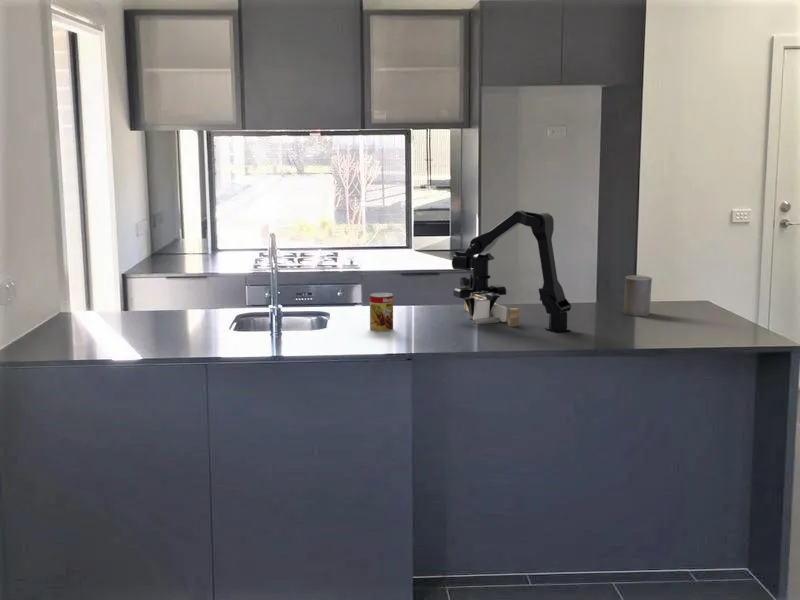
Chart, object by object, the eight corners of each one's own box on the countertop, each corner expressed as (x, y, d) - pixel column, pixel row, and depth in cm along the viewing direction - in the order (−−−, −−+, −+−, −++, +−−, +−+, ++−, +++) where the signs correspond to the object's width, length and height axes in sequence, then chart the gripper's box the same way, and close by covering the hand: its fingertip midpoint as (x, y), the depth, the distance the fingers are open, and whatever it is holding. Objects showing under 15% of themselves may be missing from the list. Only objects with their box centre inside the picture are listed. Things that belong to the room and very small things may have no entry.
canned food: (390, 331, 318) (390, 296, 316) (367, 330, 319) (367, 296, 317) (395, 327, 325) (395, 292, 323) (372, 326, 327) (372, 292, 325)
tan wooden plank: (519, 325, 328) (520, 308, 327) (488, 328, 323) (488, 311, 322) (473, 309, 358) (473, 293, 357) (443, 311, 353) (443, 295, 352)
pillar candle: (617, 312, 352) (619, 272, 349) (638, 310, 356) (640, 271, 353) (634, 317, 343) (636, 276, 340) (655, 315, 347) (657, 274, 344)
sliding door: (506, 321, 334) (506, 307, 333) (483, 323, 330) (484, 308, 329) (481, 312, 350) (481, 298, 349) (460, 314, 346) (460, 300, 345)
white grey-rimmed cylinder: (491, 320, 333) (490, 300, 332) (471, 321, 333) (470, 301, 333) (490, 318, 340) (489, 299, 339) (471, 319, 340) (470, 299, 340)
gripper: (492, 267, 345) (491, 309, 348) (446, 270, 338) (446, 313, 341) (507, 271, 335) (506, 314, 338) (461, 274, 328) (460, 318, 331)
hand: (479, 315), depth 337 cm, fingers closed on white grey-rimmed cylinder, 6 cm apart
